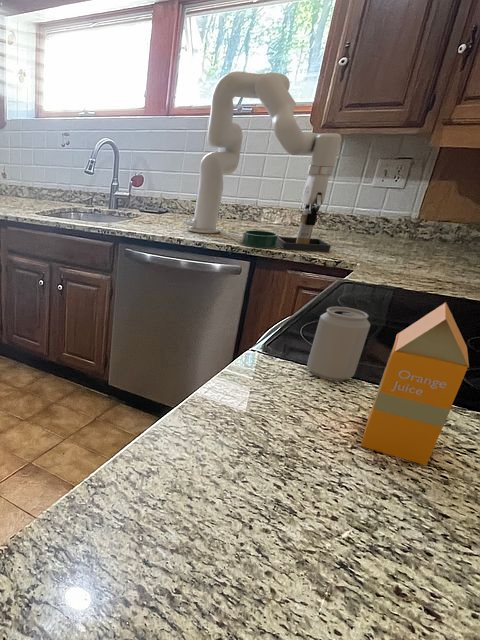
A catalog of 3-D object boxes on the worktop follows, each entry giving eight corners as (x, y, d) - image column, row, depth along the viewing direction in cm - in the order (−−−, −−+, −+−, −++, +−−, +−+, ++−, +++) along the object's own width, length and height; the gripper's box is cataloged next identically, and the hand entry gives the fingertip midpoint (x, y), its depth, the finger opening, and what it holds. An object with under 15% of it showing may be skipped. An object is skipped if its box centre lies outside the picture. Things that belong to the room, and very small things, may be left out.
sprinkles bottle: (310, 246, 195) (319, 209, 190) (305, 248, 192) (315, 210, 187) (297, 244, 198) (306, 207, 193) (292, 246, 195) (301, 209, 190)
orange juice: (359, 445, 74) (406, 311, 65) (366, 420, 80) (409, 295, 72) (428, 466, 69) (488, 325, 61) (429, 438, 76) (484, 306, 67)
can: (336, 365, 99) (354, 304, 94) (362, 382, 92) (384, 318, 87) (297, 365, 99) (313, 304, 94) (320, 383, 92) (340, 318, 87)
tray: (283, 249, 192) (284, 242, 191) (275, 243, 203) (276, 236, 202) (328, 252, 189) (330, 245, 188) (318, 245, 199) (320, 238, 198)
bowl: (244, 247, 195) (247, 235, 193) (239, 241, 205) (241, 229, 203) (278, 249, 192) (281, 236, 190) (271, 243, 203) (273, 231, 201)
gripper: (301, 169, 193) (290, 219, 200) (316, 172, 178) (302, 227, 185) (324, 169, 191) (311, 220, 199) (340, 173, 176) (326, 228, 184)
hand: (307, 223), depth 192 cm, fingers open, 5 cm apart
